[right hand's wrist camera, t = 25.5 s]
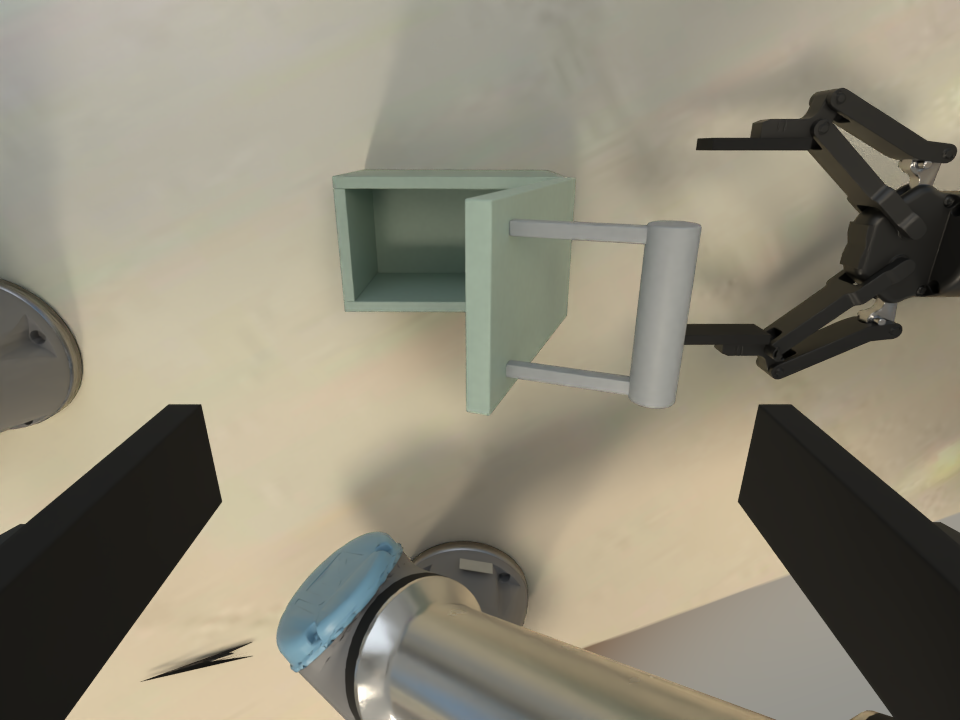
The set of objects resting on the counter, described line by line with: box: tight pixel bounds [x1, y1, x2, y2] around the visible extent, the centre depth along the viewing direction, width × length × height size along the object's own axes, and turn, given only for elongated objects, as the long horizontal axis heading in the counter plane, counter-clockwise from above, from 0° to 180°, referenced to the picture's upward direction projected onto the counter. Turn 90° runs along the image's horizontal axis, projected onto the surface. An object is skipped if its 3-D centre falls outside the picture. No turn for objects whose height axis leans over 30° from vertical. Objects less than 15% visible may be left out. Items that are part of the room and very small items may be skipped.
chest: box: [332, 170, 564, 312], centre depth 44 cm, size 16×10×11 cm, turn 90°
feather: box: [141, 642, 252, 682], centre depth 69 cm, size 2×28×2 cm
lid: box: [465, 177, 702, 416], centre depth 30 cm, size 17×10×9 cm
